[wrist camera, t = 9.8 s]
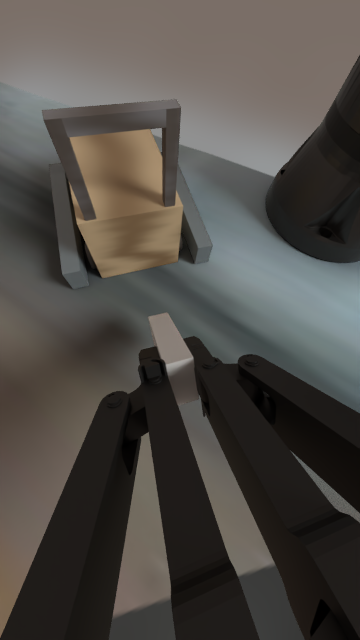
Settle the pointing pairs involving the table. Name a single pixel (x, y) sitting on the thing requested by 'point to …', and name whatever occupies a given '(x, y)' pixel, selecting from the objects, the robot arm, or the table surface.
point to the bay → (71, 236)
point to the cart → (122, 181)
